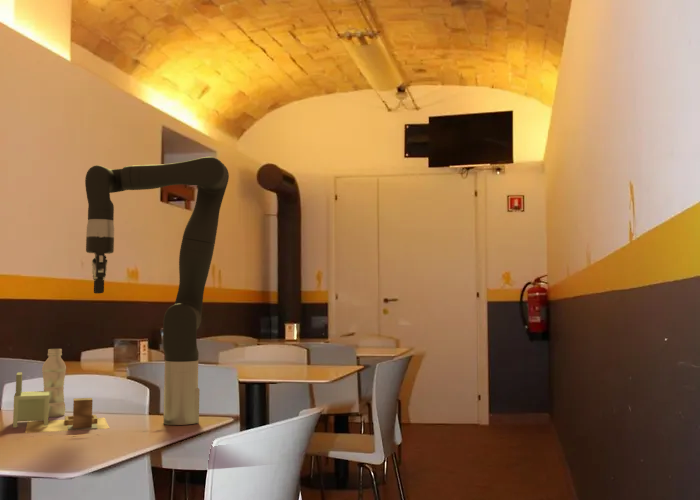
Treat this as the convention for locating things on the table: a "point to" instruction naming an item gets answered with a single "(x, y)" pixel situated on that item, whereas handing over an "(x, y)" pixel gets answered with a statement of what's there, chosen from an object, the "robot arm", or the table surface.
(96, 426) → the puzzle board
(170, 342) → the robot arm
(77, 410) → the walnut block
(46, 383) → the plastic bottle
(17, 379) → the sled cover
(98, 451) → the table surface
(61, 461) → the table surface
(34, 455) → the table surface
